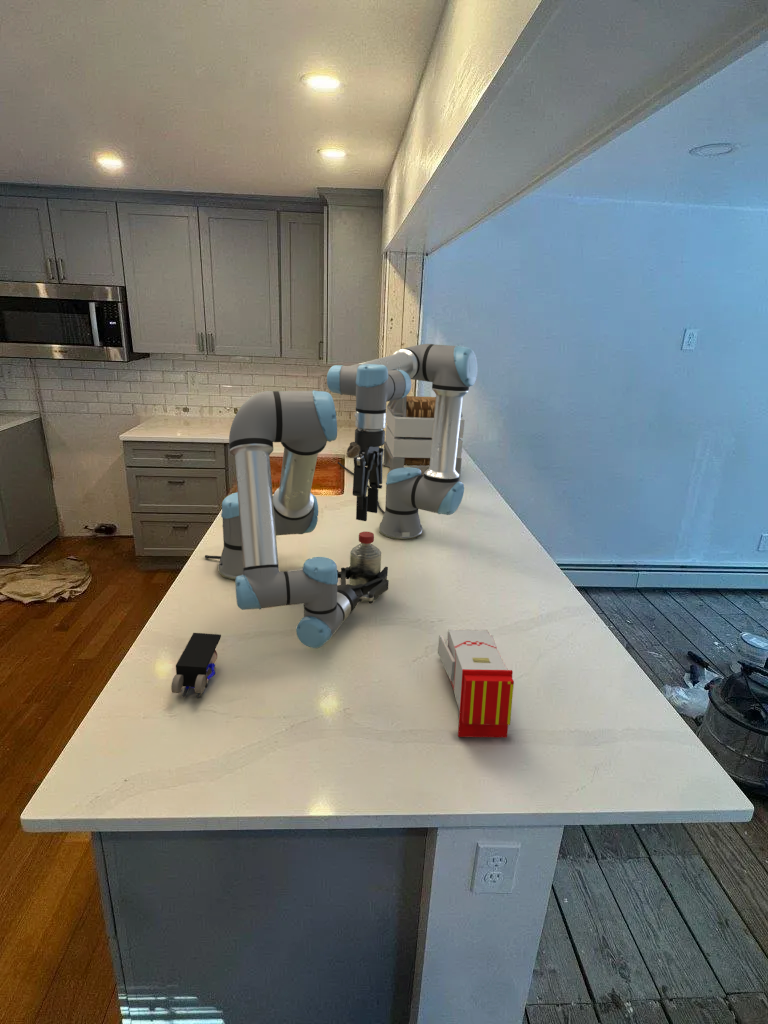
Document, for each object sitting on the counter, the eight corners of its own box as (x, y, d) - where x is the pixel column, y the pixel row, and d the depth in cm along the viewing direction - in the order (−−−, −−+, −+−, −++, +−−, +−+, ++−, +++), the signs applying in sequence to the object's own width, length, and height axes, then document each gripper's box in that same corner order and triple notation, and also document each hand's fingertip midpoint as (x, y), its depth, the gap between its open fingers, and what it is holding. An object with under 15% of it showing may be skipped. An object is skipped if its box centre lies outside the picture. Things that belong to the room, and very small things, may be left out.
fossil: (346, 440, 316) (367, 425, 311) (357, 453, 319) (378, 438, 314) (340, 453, 296) (362, 438, 291) (351, 468, 299) (374, 452, 294)
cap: (360, 544, 149) (360, 537, 148) (357, 538, 152) (357, 531, 152) (375, 543, 150) (375, 536, 149) (372, 537, 153) (372, 531, 153)
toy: (488, 613, 130) (523, 677, 101) (484, 667, 133) (517, 744, 104) (435, 612, 130) (455, 676, 101) (432, 666, 133) (451, 743, 103)
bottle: (352, 603, 152) (353, 542, 146) (347, 588, 159) (348, 530, 153) (382, 601, 154) (385, 540, 148) (375, 587, 161) (378, 529, 155)
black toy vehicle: (206, 709, 112) (224, 658, 125) (202, 680, 108) (221, 630, 122) (172, 708, 112) (194, 657, 125) (167, 679, 108) (190, 629, 122)
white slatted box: (382, 463, 289) (386, 382, 275) (445, 464, 293) (451, 384, 279) (390, 482, 257) (394, 392, 243) (460, 483, 261) (468, 394, 247)
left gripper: (299, 609, 143) (336, 573, 163) (377, 627, 137) (406, 587, 157) (299, 582, 140) (336, 549, 161) (379, 599, 134) (407, 562, 154)
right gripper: (371, 421, 150) (368, 503, 158) (339, 433, 134) (337, 524, 141) (398, 424, 148) (393, 507, 156) (368, 437, 131) (365, 530, 139)
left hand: (371, 568), depth 159 cm, fingers closed on bottle, 8 cm apart
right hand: (366, 515), depth 149 cm, fingers open, 6 cm apart
